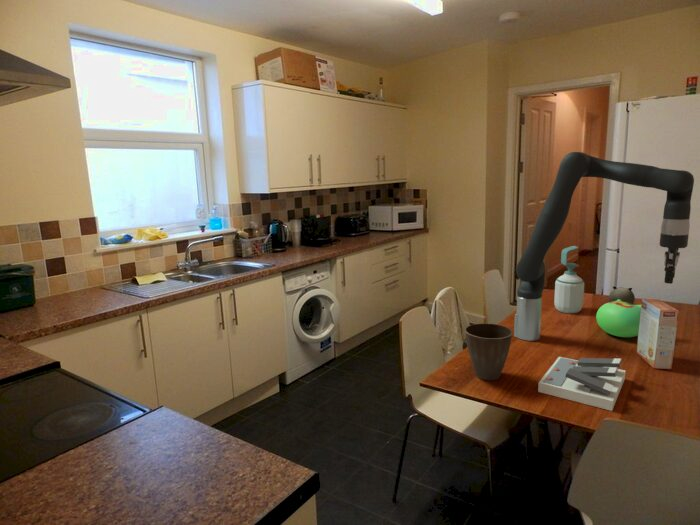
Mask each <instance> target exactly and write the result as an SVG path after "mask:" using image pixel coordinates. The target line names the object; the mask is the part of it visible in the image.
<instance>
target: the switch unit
mask: <svg viewBox="0 0 700 525" xmlns="http://www.w3.org/2000/svg"><path fill="white" fill-rule="evenodd" d="M578 361H579V359H578V360H577V359H572V358H568V357H562V356H558V357H557V358H556V359H555V361H554V362H553V364H552V365H551V366H550V367H549V368H548V369H547V371H546V372H545V374H544V375H543V376H542V378H541V379H540V380H539V382H538V383H537V384H538V385H537V386H538V388H537V390H538V391H537V392H538V393H542V394H545V395H549V396H552V397H553V396H554V397H557V398H561V399H565V400H567V401H568V400H569V401H573V402H576V403H581V404H583V405H584V404H585V405H587V406H592V407H596V408H600V409H604V410H607V411H611V412H613V410H614V406H615V405H616V402H617V400H618V398H619V394H620V392H621V389H622V387H623V385H624V382H625V379H626V370H625V369H620V368H617V369H618V372H617V375H616V377H607V376H591V377H593V378H595V379H598V380H600V381H603V382H605V383H609V384H611V385H613V387H612V390H611V392H610V394H609V395H607V394H605V393H603V392H600V391H598V390H596V389H593V388H591V387H588V386H586V385H584V384H581V383H579V382H577V381H574V380H572V379H569V378H567V377H565V376H566V373H567V372H568V370H569V369H570V368H571V369H573V368H574V366H578V364H577V362H578ZM581 367H594V366H581Z"/></svg>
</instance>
